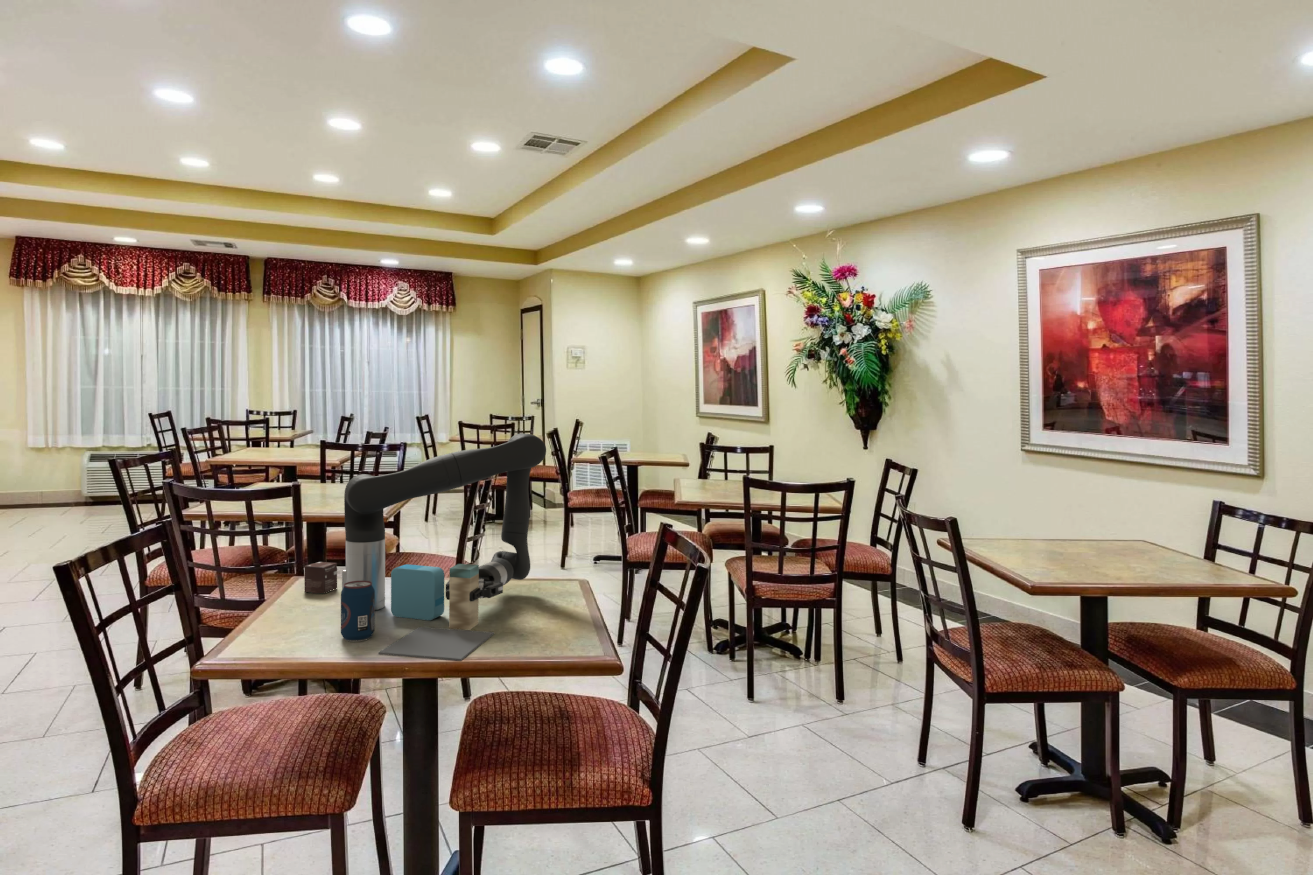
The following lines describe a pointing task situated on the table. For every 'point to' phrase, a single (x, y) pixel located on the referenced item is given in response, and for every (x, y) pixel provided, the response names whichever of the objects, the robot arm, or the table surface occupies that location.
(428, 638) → the rubber mat
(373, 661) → the table surface
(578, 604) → the table surface
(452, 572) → the birch block
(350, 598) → the soda can
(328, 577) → the box
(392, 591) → the data package
